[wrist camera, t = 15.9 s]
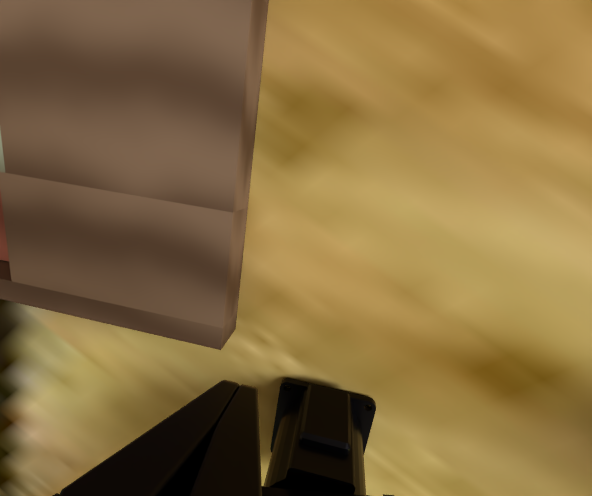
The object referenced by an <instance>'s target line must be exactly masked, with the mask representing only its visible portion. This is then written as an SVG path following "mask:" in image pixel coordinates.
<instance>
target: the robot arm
mask: <svg viewBox="0 0 592 496" xmlns="http://www.w3.org/2000/svg"><path fill="white" fill-rule="evenodd" d="M285 385H288V386H290V388H288V387H286V386H285ZM365 405H371V406H369V407H368V406H365ZM375 411H376V405H375V401H374V400H373V399H372V398H370V397H366V396H362V395H357V394H353V393H349V392H345V391H340V390H336V389H332V388H328V387H324V386H319V385H315V384H311V383H307V382H302V381H298V380H294V379H290V378H286V379H284V380H282V383H281V386H280V391H279V398H278V404H277V410H276V417H275V423H274V430H273V436H272V442H271V452H272V456H271V459H270V463H269V467H268V471H267V475H266V479H265V483H264V486H261V463H260V438H259V412H258V390H257V388H256V387H252V386H248V385H243V384H242V385H239V384H238V383H235V382H231V381H227V380H223V381H221V382H219V383H218V384H216V385H215V386H213V387H212V388H210V389H209V390H207V391H206V392H205V393H203V394H202V395H200V396H199V397H197V398H196V399H194V400H193V401H191V402H190V403H188V404H187V405H185V406H184V407H183V408H181V409H180V410H178V411H177V412H175V413H174V414H172V415H171V416H169V417H168V418H166V419H165V420H163V421H162V422H161V423H159V424H158V425H156V426H155V427H153V428H152V429H150V430H149V431H147V432H146V433H144V434H143V435H141V436H140V437H138V438H137V439H136V440H134V441H133V442H131V443H130V444H128V445H127V446H125V447H124V448H122V449H121V450H119V451H118V452H116V453H115V454H114V455H112V456H111V457H109V458H108V459H106V460H105V461H103V462H102V463H100V464H99V465H97V466H96V467H94V468H93V469H92V470H90V471H89V472H87V473H86V474H84V475H83V476H81V477H80V478H78V479H77V480H75V481H74V482H72V483H71V484H69V485H68V486H67V487H65V488H64V489H62V491H61V493H60V494H58V493H56V494H55V495H53V496H368V495H366V488H365V472H364V457H363V455H364V452H365V448H366V444H367V441H368V437H369V433H370V429H371V426H372V422H373V418H374V414H375ZM383 496H394V495H383Z"/></svg>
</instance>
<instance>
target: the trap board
mask: <svg viewBox="0 0 592 496" xmlns="http://www.w3.org/2000/svg"><path fill="white" fill-rule="evenodd" d="M268 1H269V0H0V299H3V300H7V301H12V302H16V303H20V304H25V305H29V306H33V307H38V308H42V309H46V310H51V311H55V312H59V313H64V314H68V315H72V316H77V317H81V318H85V319H90V320H94V321H98V322H103V323H107V324H111V325H116V326H120V327H124V328H129V329H133V330H137V331H142V332H146V333H150V334H154V335H159V336H163V337H167V338H172V339H176V340H180V341H185V342H189V343H193V344H198V345H202V346H206V347H211V348H215V349H219V350H221V349H222V348H223V346H224V345H225V343H226V342H227V340H228V339H229V337H230V336H231V335H232V333H233V332H234V330H235V327H236V318H237V308H238V298H239V288H240V278H241V268H242V258H243V248H244V238H245V229H246V219H247V209H248V199H249V189H250V179H251V169H252V159H253V149H254V140H255V130H256V120H257V110H258V100H259V90H260V80H261V70H262V60H263V51H264V41H265V31H266V21H267V11H268Z"/></svg>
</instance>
